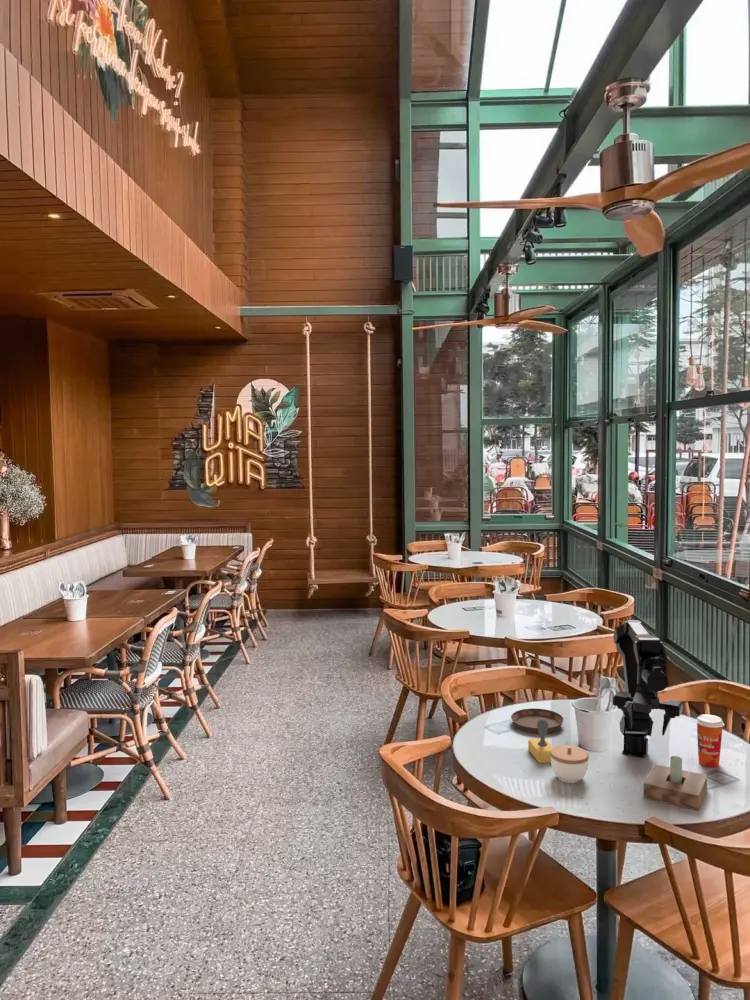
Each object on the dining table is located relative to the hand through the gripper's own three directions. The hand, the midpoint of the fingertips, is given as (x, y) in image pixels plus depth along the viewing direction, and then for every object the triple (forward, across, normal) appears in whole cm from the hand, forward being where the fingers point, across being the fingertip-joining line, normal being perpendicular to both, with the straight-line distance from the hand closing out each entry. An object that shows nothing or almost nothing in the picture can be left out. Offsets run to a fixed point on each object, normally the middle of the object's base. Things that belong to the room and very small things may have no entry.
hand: (646, 731), depth 219 cm
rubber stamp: (+12, -30, -5) cm, 33 cm away
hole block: (+12, +10, -10) cm, 19 cm away
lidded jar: (+12, -18, -16) cm, 27 cm away
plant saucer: (+12, -40, +18) cm, 46 cm away
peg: (+12, +10, -10) cm, 19 cm away
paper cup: (+12, +15, +15) cm, 24 cm away
